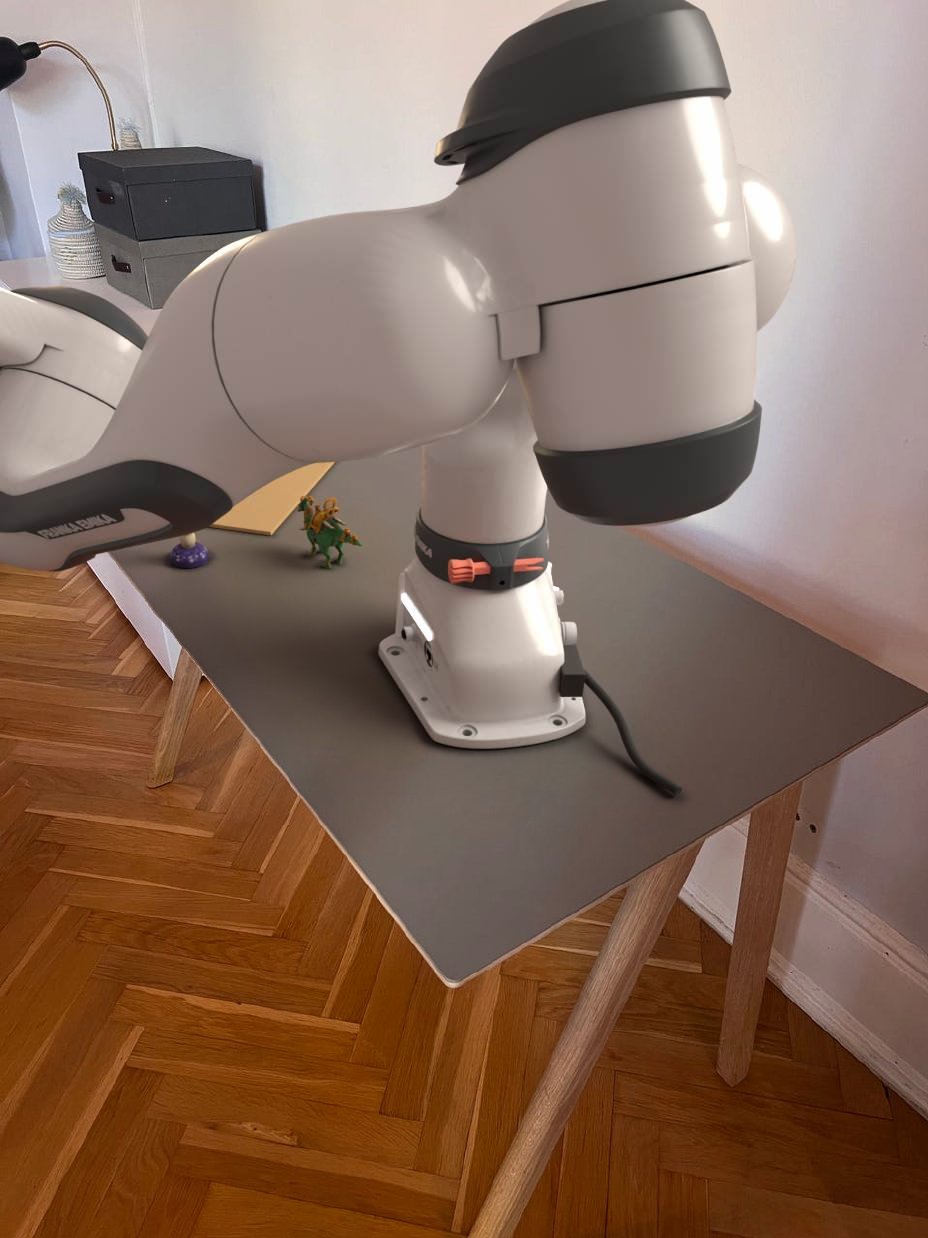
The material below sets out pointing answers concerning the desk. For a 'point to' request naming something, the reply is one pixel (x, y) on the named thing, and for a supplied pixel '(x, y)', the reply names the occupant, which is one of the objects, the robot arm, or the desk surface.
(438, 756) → the desk surface
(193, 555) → the toy lamp
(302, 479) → the wooden board
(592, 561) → the desk surface
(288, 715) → the desk surface
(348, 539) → the figurine
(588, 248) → the robot arm
